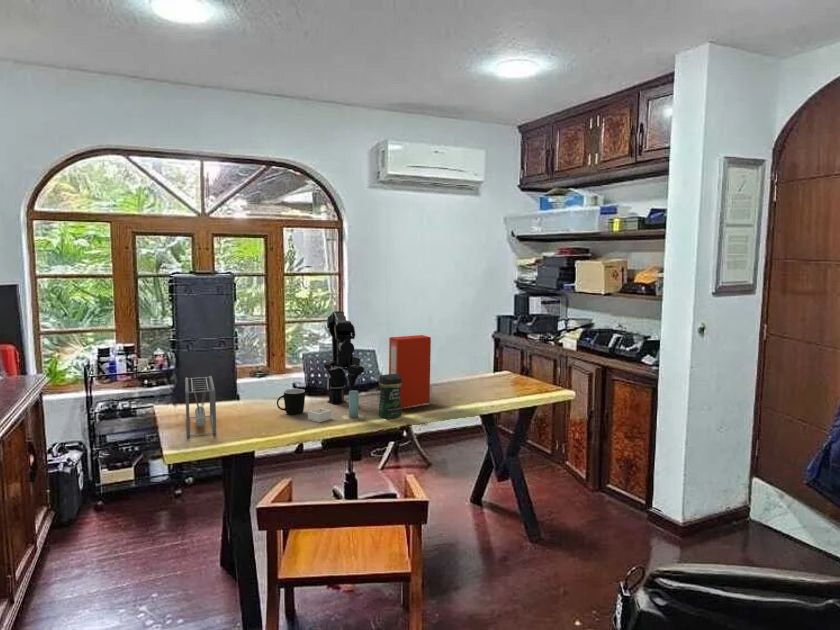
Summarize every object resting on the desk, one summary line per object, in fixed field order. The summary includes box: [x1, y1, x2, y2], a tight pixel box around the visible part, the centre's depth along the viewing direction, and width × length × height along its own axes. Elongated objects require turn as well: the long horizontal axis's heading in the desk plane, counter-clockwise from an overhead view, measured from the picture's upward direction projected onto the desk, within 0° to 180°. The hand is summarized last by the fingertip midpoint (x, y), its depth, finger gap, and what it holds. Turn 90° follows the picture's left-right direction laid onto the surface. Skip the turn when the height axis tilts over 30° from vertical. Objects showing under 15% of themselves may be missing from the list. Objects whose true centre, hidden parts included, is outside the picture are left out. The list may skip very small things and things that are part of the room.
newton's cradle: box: [184, 375, 217, 438], centre depth 233 cm, size 30×10×18 cm, turn 22°
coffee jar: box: [377, 373, 402, 420], centre depth 250 cm, size 10×8×19 cm
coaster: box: [341, 413, 366, 422], centre depth 248 cm, size 10×10×1 cm
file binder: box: [388, 334, 432, 408], centre depth 267 cm, size 8×17×32 cm, turn 121°
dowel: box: [348, 389, 359, 418], centre depth 247 cm, size 4×4×11 cm
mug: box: [276, 388, 306, 416], centre depth 253 cm, size 12×9×10 cm
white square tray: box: [307, 407, 332, 423], centre depth 245 cm, size 7×7×4 cm
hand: (343, 387), depth 250 cm, fingers open, 9 cm apart
